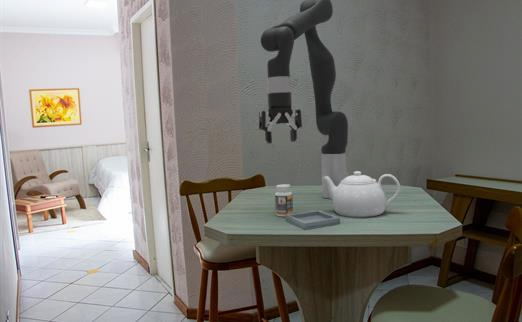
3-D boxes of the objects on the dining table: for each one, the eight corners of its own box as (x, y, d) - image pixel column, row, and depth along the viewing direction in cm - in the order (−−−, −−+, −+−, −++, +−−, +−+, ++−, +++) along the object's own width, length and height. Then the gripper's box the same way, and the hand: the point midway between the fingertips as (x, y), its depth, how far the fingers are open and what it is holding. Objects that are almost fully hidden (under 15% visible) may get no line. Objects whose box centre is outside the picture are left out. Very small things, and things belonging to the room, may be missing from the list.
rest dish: (318, 215, 137) (318, 210, 137) (340, 223, 126) (339, 217, 126) (285, 220, 132) (285, 215, 132) (304, 229, 121) (304, 223, 121)
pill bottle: (291, 217, 137) (290, 186, 136) (274, 217, 138) (273, 186, 137) (294, 213, 142) (293, 183, 141) (277, 213, 143) (276, 184, 142)
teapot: (356, 222, 127) (355, 177, 126) (320, 211, 144) (319, 171, 142) (402, 213, 136) (402, 171, 134) (363, 203, 152) (362, 166, 151)
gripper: (293, 92, 142) (295, 140, 144) (254, 93, 136) (256, 143, 138) (304, 90, 135) (306, 141, 137) (263, 91, 130) (265, 144, 131)
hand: (281, 142), depth 137 cm, fingers open, 8 cm apart
